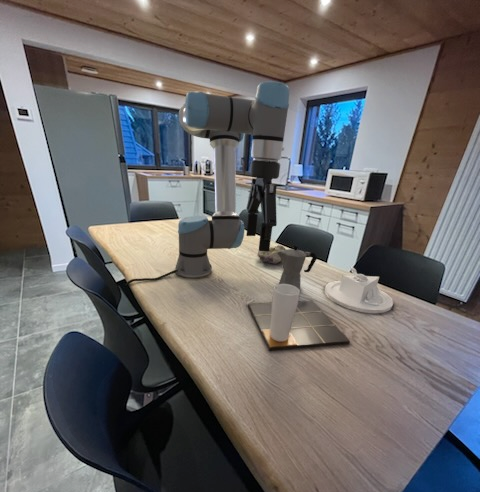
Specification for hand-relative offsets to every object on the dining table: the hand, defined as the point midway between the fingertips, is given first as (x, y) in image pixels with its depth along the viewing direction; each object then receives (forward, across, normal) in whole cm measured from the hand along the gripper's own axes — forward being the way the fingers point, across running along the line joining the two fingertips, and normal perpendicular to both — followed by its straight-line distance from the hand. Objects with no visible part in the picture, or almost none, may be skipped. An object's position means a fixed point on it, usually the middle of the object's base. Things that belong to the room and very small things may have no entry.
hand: (256, 242), depth 75 cm
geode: (+26, +49, -24) cm, 60 cm away
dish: (+24, +8, -46) cm, 53 cm away
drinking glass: (+23, -15, -5) cm, 28 cm away
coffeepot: (+25, +17, -22) cm, 37 cm away
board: (+24, -7, -13) cm, 28 cm away
